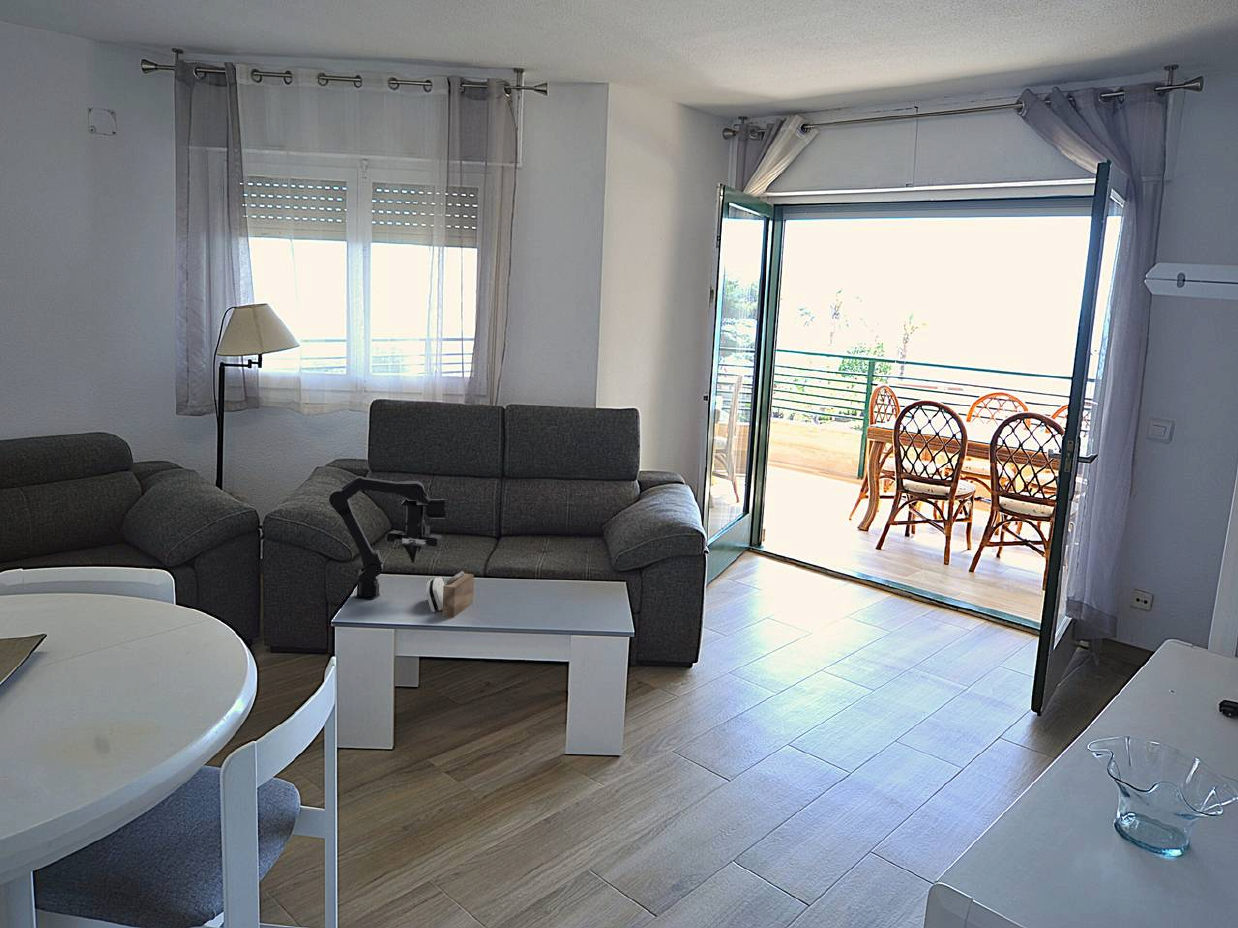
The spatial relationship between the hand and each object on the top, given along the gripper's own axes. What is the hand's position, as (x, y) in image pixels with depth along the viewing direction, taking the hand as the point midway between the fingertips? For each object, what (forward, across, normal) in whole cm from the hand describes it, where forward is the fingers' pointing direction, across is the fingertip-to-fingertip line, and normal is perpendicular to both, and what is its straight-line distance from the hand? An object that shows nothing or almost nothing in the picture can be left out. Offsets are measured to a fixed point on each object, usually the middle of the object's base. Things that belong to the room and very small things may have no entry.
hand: (413, 562), depth 322 cm
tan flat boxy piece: (+12, -20, +8) cm, 24 cm away
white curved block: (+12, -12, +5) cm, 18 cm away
